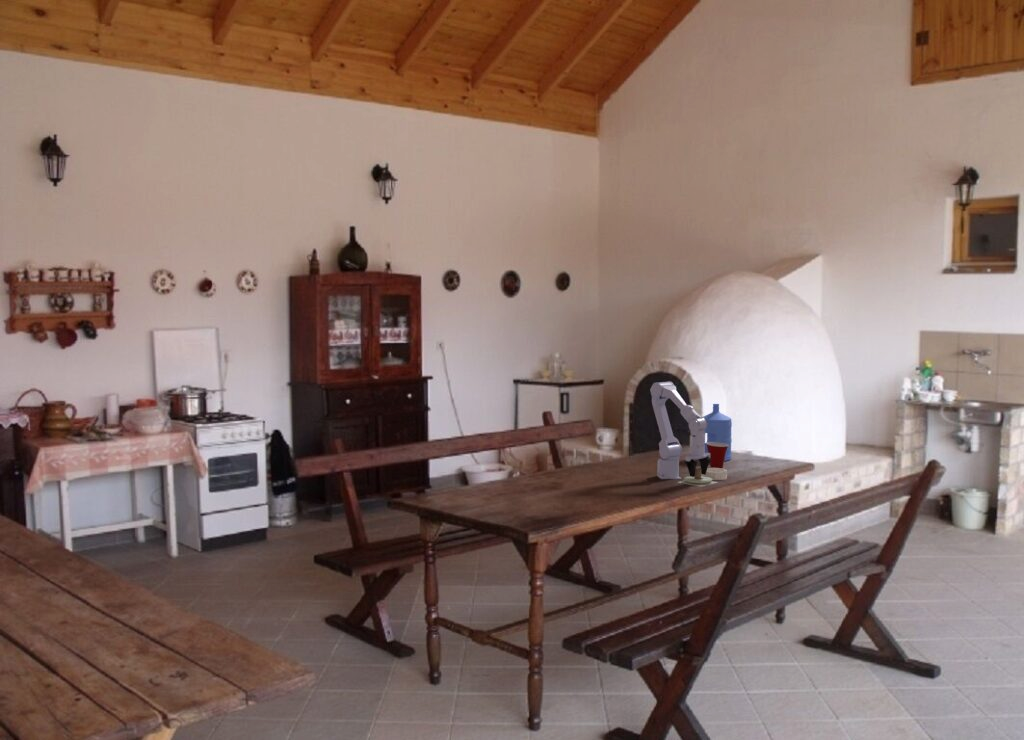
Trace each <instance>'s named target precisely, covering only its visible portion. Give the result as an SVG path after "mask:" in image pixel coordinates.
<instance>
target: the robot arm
mask: <svg viewBox="0 0 1024 740" xmlns="http://www.w3.org/2000/svg"><path fill="white" fill-rule="evenodd" d="M649 391H650V395H651V405H652V409H653V412H654V415H655V419H656V423H657V426H658V431H659V433H660V439H661V440H660V441H659V442H658V446H659V451H658V453H659V456H660V457H661V458H658V459H657V472H656V474H657V477H658V478H659V479H660V480H675V479H676V480H677V479H678V480H679V479H682V477H681V476H679V475H680V470H679V469H680V466H679V465H680V460H679V459H680V458H681V456H682V455H683V447H682V445H681V444H680V441H679V439H678V438H677V437H675V436H674V433H673V430H672V426H671V425H672V424H671V423H670V418H669V415H668V410H667V407H666V401H668V399H670V400H671V401H672V402H673V403H674V404H675V405H676V406H677V408H678V409H679V410H680V412H679V413H680V415H681V416H682V417H683V419H684V420H685V421H686V422H687V423H688V428H689V431H690V435H691V454H688V455H687V456H685V460H684V463H685V466H686V467H687V470H688V473H689V476H691V477H695V469H696V468H697V464H698V461H699V465H700V468H701V474H704V475H706V472H707V468H709V466H710V462H711V458H710V453H705V443H706V433H705V429H706V428H707V426H708V423H707V421H706V419H705V418H704V417H703V416H701V415H700V414H699V413H697V411H696V410H695V409H694V406H693V405H691V404H687V403H686V402H685V400H684V399H683V397H682V395H680V393H679V392H678V390H677V385H675V384H674V383H673V382H672V381H662V382H661V381H660V382H653V383H652V385H651V387H650V389H649ZM696 460H698V461H696Z"/></svg>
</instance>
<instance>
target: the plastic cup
mask: <svg viewBox="0 0 1024 740" xmlns="http://www.w3.org/2000/svg"><path fill="white" fill-rule="evenodd" d="M705 443H706V444H707V449H708V453H710V458H711V462H710V463H709V467H710V468H722V469H724V462H725V461H724V459H725V454H726V450H727V447H728V446H729V445H728V444H724V443H718V442H707V441H705Z"/></svg>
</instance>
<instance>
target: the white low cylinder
mask: <svg viewBox="0 0 1024 740" xmlns="http://www.w3.org/2000/svg"><path fill="white" fill-rule="evenodd" d="M701 476H704V477H710V478H712V481H725V480H727V479H728V470H727V469H725V468H711V467H708V468H707V472H706V475H704V474H701Z"/></svg>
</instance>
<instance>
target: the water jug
mask: <svg viewBox="0 0 1024 740" xmlns="http://www.w3.org/2000/svg"><path fill="white" fill-rule="evenodd" d="M702 417H704V418H705V419H706V421H707V423H708V426H707V428H706V429H705V434H706V439H707V440H706V442H718V443H724V444H728V445H729V446H728V447H727V450H726V454H725V459H724V462H727V461H730V460H731V459H732V442H733V438H732V426H733V425H732V424H733V422H732V417H730V416H727V415H725V414H724V413H721V412H720V403H712V412H709V413H708V414H706V415H703V416H702ZM706 442H705V453H708V449H707V444H706Z"/></svg>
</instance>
